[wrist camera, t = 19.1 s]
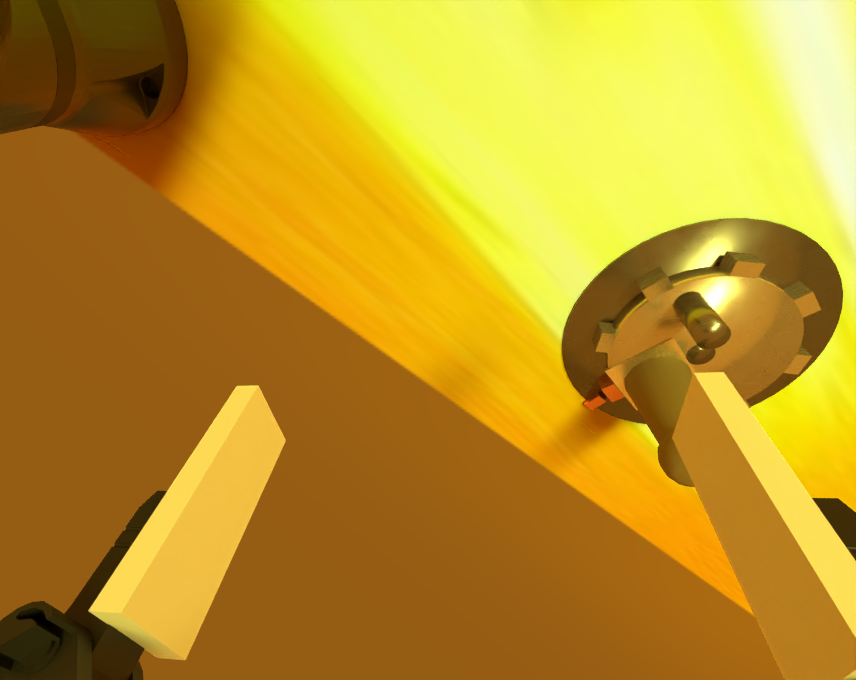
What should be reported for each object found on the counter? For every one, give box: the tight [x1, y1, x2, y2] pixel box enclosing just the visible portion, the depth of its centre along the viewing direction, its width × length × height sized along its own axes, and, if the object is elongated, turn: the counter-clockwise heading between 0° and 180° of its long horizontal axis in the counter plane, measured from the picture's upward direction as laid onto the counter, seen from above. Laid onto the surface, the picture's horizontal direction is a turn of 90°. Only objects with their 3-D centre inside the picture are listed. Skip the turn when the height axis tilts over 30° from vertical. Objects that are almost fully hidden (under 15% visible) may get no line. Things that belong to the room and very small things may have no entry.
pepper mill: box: [625, 356, 695, 487], centre depth 37 cm, size 6×6×11 cm
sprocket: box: [592, 251, 821, 410], centre depth 38 cm, size 19×19×7 cm
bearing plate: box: [563, 218, 843, 424], centre depth 41 cm, size 24×24×1 cm
